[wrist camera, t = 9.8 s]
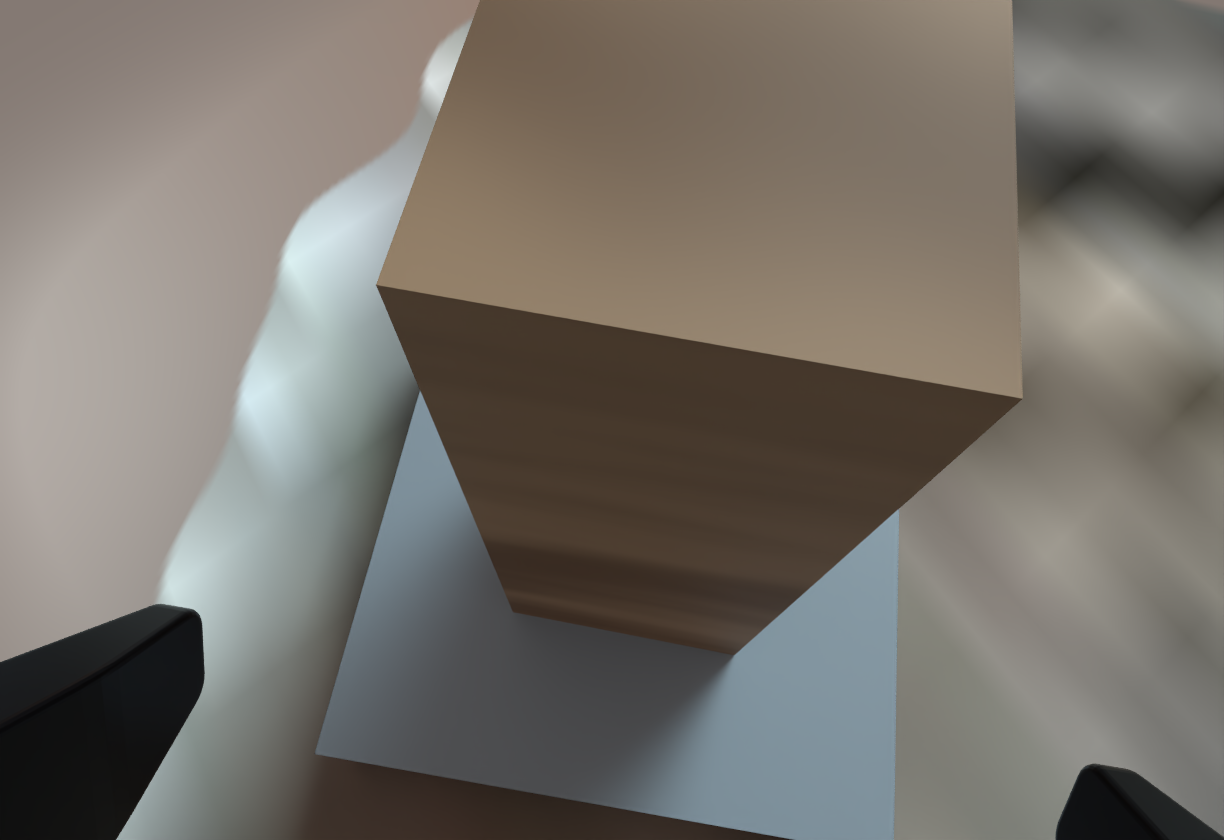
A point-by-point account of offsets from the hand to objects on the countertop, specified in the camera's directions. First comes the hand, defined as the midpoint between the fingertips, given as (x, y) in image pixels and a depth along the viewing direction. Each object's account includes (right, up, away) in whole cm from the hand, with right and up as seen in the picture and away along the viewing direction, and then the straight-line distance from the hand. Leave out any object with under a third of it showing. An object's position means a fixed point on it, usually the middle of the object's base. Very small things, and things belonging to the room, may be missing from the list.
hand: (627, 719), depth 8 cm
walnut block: (+1, +1, +11) cm, 11 cm away
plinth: (+1, -1, +14) cm, 14 cm away
